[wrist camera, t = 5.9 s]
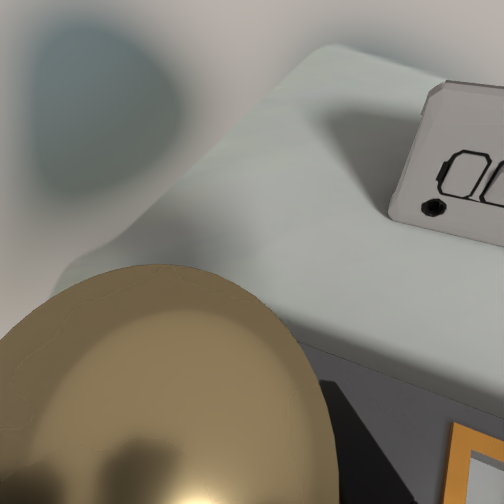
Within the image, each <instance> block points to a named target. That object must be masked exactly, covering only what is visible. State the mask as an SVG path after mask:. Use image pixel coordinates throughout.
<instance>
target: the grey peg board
mask: <svg viewBox="0 0 504 504" xmlns="http://www.w3.org/2000/svg"><path fill="white" fill-rule="evenodd" d="M297 343H298V344H299V346H300V347H301V349H302V350H303V352H304V354H305V356H306V358H307V360H308V361H309V363H310V365H311V367H312V369H313V371H314V373H315V375H316V377H317V380H318V383H319V380H320V379H324V380H331V381H335V382H336V383H337V384H338V385H339V387H340V388H341V390H342V391H343V393H344V394H345V396H346V397H347V399H348V400H349V402H350V403H351V405H352V406H353V408H354V409H355V410H356V412H357V413H358V415H359V416H360V418H361V419H362V421H363V422H364V424H365V425H366V427H367V428H368V430H369V431H370V433H371V434H372V436H373V437H374V438H375V440H376V441H377V443H378V444H379V446H380V447H381V449H382V450H383V452H384V453H385V455H386V456H387V458H388V459H389V461H390V462H391V463H392V465H393V466H394V468H395V469H396V471H397V472H398V474H399V475H400V477H401V478H402V480H403V481H404V483H405V484H406V486H407V487H408V489H409V490H410V491H411V493H412V494H413V496H414V498H415V501H417V502H418V503H419V504H465V502H466V493H467V484H468V475H469V466H470V457H471V458H474V459H476V460H479V461H481V462H483V463H486V464H488V465H491V466H493V467H496V468H498V469H500V470H503V471H504V419H502V418H499V417H497V416H494V415H491V414H489V413H486V412H483V411H481V410H478V409H475V408H473V407H470V406H467V405H465V404H462V403H459V402H457V401H454V400H451V399H449V398H446V397H443V396H441V395H438V394H435V393H433V392H430V391H427V390H425V389H422V388H419V387H417V386H414V385H411V384H409V383H406V382H403V381H401V380H398V379H395V378H393V377H390V376H387V375H385V374H382V373H379V372H377V371H374V370H371V369H369V368H366V367H363V366H361V365H358V364H355V363H353V362H350V361H348V360H345V359H342V358H340V357H337V356H334V355H332V354H329V353H326V352H324V351H321V350H318V349H316V348H313V347H310V346H308V345H305V344H302V343H300V342H297Z"/></svg>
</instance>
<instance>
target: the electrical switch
mask: <svg viewBox="0 0 504 504" xmlns="http://www.w3.org/2000/svg"><path fill="white" fill-rule="evenodd" d="M421 115H422V119H421V122H420V124H419V127H418V130H417V133H416V135H415V138H414V141H413V144H412V147H411V149H410V152H409V155H408V158H407V160H406V163H405V166H404V169H403V171H402V174H401V177H400V180H399V183H398V185H397V188H396V191H395V193H393V194H392V197H391V200H390V203H389V205H388V215H389V217H390V218H391V219H392V220H394V221H397V222H401V223H405V224H410V225H414V226H418V227H422V228H426V229H431V230H435V231H439V232H443V233H448V234H452V235H456V236H460V237H464V238H469V239H473V240H477V241H481V242H485V243H490V244H494V245H498V246H502V247H504V87H502V86H493V85H484V84H476V83H467V82H459V81H450V80H446V82H445V83H444V82H442V83H440V84H439V85H437V86H436V87H434V88H433V89H432V90H430V91H429V93H428V96H427V99H426V101H425V104H424V107H423V110H422V112H421Z"/></svg>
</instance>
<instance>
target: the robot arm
mask: <svg viewBox="0 0 504 504" xmlns="http://www.w3.org/2000/svg"><path fill="white" fill-rule="evenodd" d="M319 386H320V388H321V391H322V394H323V396H324V399H325V402H326V405H327V409H328V413H329V417H330V421H331V425H332V429H333V434H334V438H335V447H336V455H337V463H338V471H339V504H419V503H418V502H417V501H415V498H414V496H413V494H412V493H411V491H410V490H409V489H408V487H407V486H406V484H405V483H404V481H403V480H402V478H401V477H400V475H399V474H398V472H397V471H396V469H395V468H394V466H393V465H392V463H391V462H390V461H389V459H388V458H387V456H386V455H385V453H384V452H383V450H382V449H381V447H380V446H379V444H378V443H377V441H376V440H375V438H374V437H373V436H372V434H371V433H370V431H369V430H368V428H367V427H366V425H365V424H364V422H363V421H362V419H361V418H360V416H359V415H358V413H357V412H356V410H355V409H354V408H353V406H352V405H351V403H350V402H349V400H348V399H347V397H346V396H345V394H344V393H343V391H342V390H341V388H340V387H339V385H338V384H337V383H336V382H335V381H331V380H324V379H320V380H319Z"/></svg>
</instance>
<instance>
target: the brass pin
mask: <svg viewBox="0 0 504 504" xmlns="http://www.w3.org/2000/svg"><path fill="white" fill-rule="evenodd" d="M0 504H339V471H338V463H337V455H336V447H335V438H334V434H333V429H332V425H331V421H330V417H329V413H328V409H327V405H326V402H325V399H324V396H323V394H322V391H321V388H320V386H319V383H318V380H317V377H316V375H315V373H314V371H313V369H312V367H311V365H310V363H309V361H308V360H307V358H306V356H305V354H304V352H303V350H302V349H301V347H300V346H299V344H298V343H297V341H296V340H295V338H294V337H293V335H292V334H291V332H290V331H289V330H288V328H287V327H286V326H285V325H284V324H283V323H282V322H281V321H280V319H279V318H278V317H277V316H276V315H275V314H274V313H273V312H272V311H271V310H270V309H269V308H268V307H267V306H266V305H264V304H263V303H262V302H261V301H260V300H259V299H258V298H256V297H255V296H254V295H252V294H251V293H249V292H248V291H246V290H245V289H243V288H242V287H240V286H238V285H237V284H235V283H233V282H231V281H229V280H227V279H225V278H222V277H220V276H218V275H216V274H213V273H209V272H206V271H203V270H200V269H196V268H191V267H185V266H179V265H165V264H151V265H138V266H132V267H126V268H121V269H116V270H113V271H109V272H106V273H103V274H100V275H97V276H94V277H91V278H89V279H87V280H85V281H82V282H80V283H78V284H75V285H73V286H71V287H70V288H68V289H66V290H64V291H63V292H61V293H59V294H57V295H55V296H54V297H52V298H51V299H49V300H48V301H46V302H45V303H43V304H42V305H41V306H39V307H38V308H36V309H35V310H33V311H32V312H31V313H30V314H29V315H28V316H26V317H25V318H24V319H23V320H21V321H20V322H19V323H18V324H17V325H16V326H14V327H13V328H12V329H11V330H10V331H9V332H8V333H7V334H6V335H5V336H4V337H3V338H2V339H1V340H0Z"/></svg>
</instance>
